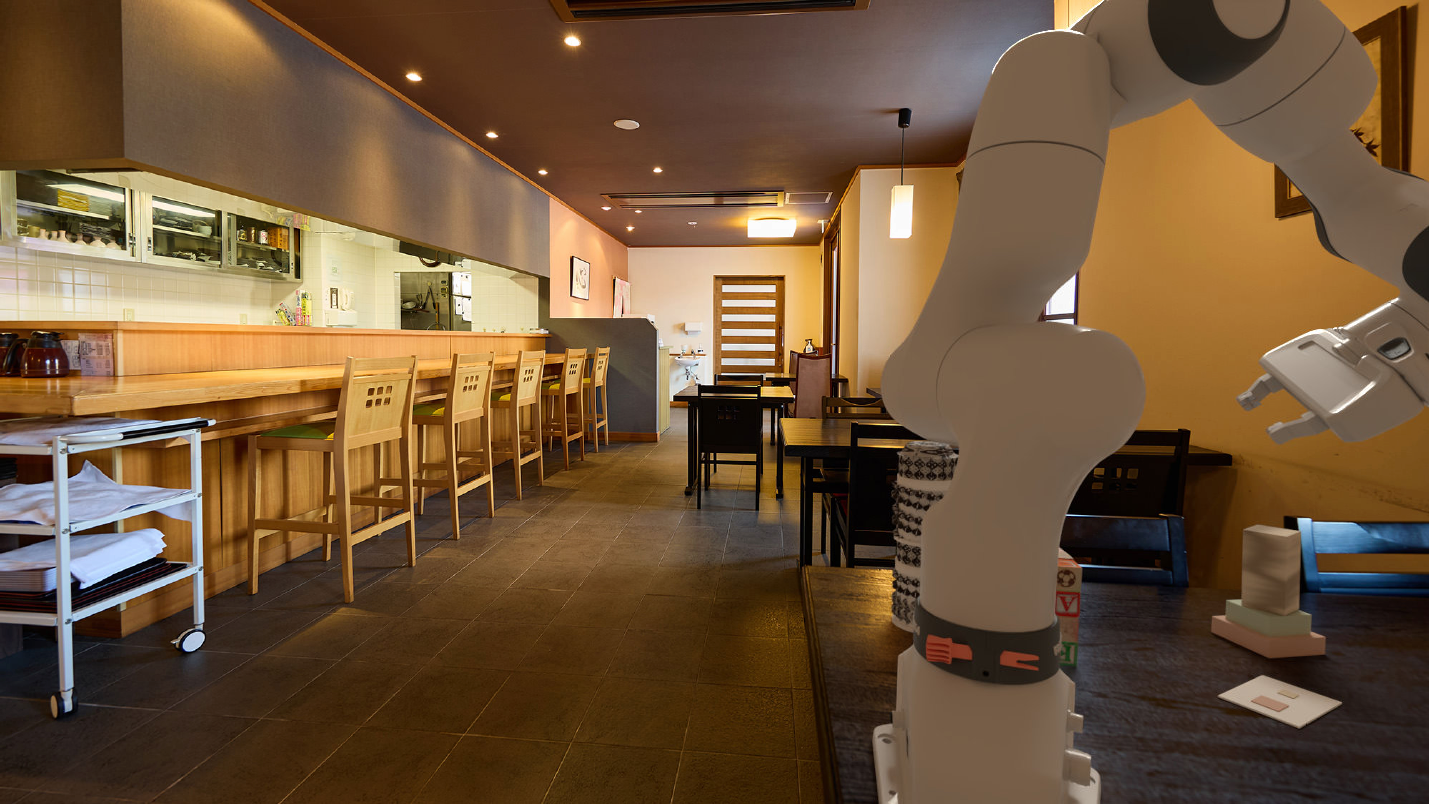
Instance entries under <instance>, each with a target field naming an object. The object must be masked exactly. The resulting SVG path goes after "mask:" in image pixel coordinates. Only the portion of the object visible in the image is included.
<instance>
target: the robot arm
mask: <svg viewBox="0 0 1429 804" xmlns="http://www.w3.org/2000/svg"><path fill="white" fill-rule="evenodd" d="M1378 82H1379V77H1378V74H1377V72H1376V69H1375V67H1374V64H1373V63H1372V60H1371V57H1370V56H1369V54H1368V53H1367V50H1366V49H1365V47H1364V45H1362V43H1361V42H1360V41H1359V40H1358V38H1357V37H1356V36H1355V34H1353V32H1352V31H1351V30H1350V29H1349V28H1348V26H1346V24H1344V23H1343V21H1342V20H1341V19H1340V18H1339V17H1338V16H1337V15H1336V14H1335V13H1334V12H1333V11H1332V10H1331V8H1329V7H1328V6H1326V5H1325V3H1323V2H1322V1H1321V0H1102V1H1100V2H1099V3H1097V4H1096V5H1095V6H1094V7H1091V9H1090V10H1089V11H1087V12H1086V13H1085V14H1084V15H1082V16H1081V17H1080V18H1079V19H1078V20H1076V22H1074V23H1073V24H1072V25H1070V26H1069V27H1068V28H1067V29H1054V30H1047V31H1041V32H1037V33H1034V34H1032V35H1029V36H1027V37H1025V38H1023V39H1020V40H1019V41H1017V42H1016V43H1014V44H1013V45H1011V46H1010V47H1009V48H1008V49H1007V50H1006V51H1005V52H1004V53H1003V54H1002V55H1001V56H1000V57H999V59H998V61H997V62H996V64H995V66H994V67H993V69H992V71H991V74H990V77H989V80H988V81H987V84H986V87H985V89H984V92H983V96H982V98H981V102H980V105H979V107H978V110H977V114H976V117H975V121H974V123H973V127H972V131H971V135H970V139H969V142H968V143H969V144H968V146H967V152H966V155H965V156H966V157H965V162H964V168H963V172H962V177H961V183H960V189H959V193H958V194H959V195H958V199H957V204H956V210H955V214H954V220H953V224H952V228H951V234H950V238H949V241H948V245H947V249H946V252H945V255H944V259H943V262H942V263H941V267H940V269H939V272H938V275H937V277H936V279H935V282H934V284H933V286H932V288H931V291H930V292H929V294H928V297H927V299H926V301H925V303H924V305H923V307H922V310H921V311H920V314H919V316H918V317H917V320H916V321H915V323H914V325H913V327H912V329H911V331H910V332H909V334H908V335H907V337H906V338H905V339H904V340H903V342H901V344H900V345H899V346H897V348H895V350H894V351H893V352H892V353H891V354H890V356H889V357H888V358H887V360H886V362H885V364H884V366H883V368H882V372H881V377H880V394H881V399H882V402H883V405H884V407H885V409H886V412H888V414H889V415H890V417H892V419H893V420H894V421H895V422H896V423H898V424H899V425H901V426H902V427H904V428H905V429H906V430H908V431H910V432H912V433H914V434H915V435H917V436H920V437H921V438H923V439H924V440H926V441H927V440H928V441H931V442H937V443H943V444H948V445H950V446H954V447H958V455H959V456H958V457H957V460H956V469H955V472H954V475H953V478H952V481H951V484H950V486H949V488H948V490H947V492H946V494H945V496H944V497H943V498H942V499H940V500H939V501H937V502H936V503H934V504H933V505H932V506H931V507H930V508H929V509H928V510H927V512H926V513H925V515H924V517H923V521H922V530H921V570H920V596H918V597H917V599H916V600H915V610H914V613H913V628H914V631H913V633H912V634H913V635H912V641H913V644H912V645H911V646H910V647H909V648H907V649H906V650H904V651H902V653H900V654H899V655H898V657H897V676H896V677H897V679H896V680H897V681H896V705H895V706H896V709H895V710H891V713H890V717H889V718H890V719H889V720H890V721H889V722H890V723H887V724H882V725H881V724H880V725H878V726H876V727H875V728H874V729H873V732H872V733H873V734H872V741H871V742H872V748H873V749H872V751H873V759H874V768H875V777H876V778H875V779H876V787H877V788H876V789H877V796H878V804H1101V794H1102V783H1101V780H1102V779H1101V776H1100V775H1101V774H1099V772H1098V771H1097V770H1096V769H1095V768H1093V767H1092V755H1091V754H1089V753H1088V752H1083V751H1082V750H1079V749H1078V748H1077V749H1076V748H1074V733H1075V732H1076V733H1078V734H1079V733H1080V734H1083V732H1084V721H1085V720H1084V715H1083V714H1079V713H1076V712H1075V705H1076V704H1075V702H1076V694H1075V693H1076V683H1075V682H1074V681H1072V679H1071V678H1070V677H1069V676H1068V675H1066V673H1064V671H1063V670H1062V669H1061V665H1060V650H1061V647H1062V636H1061V632H1060V620H1059V618H1058V616H1057V615H1056V614H1055V602H1056V584H1057V569H1058V556H1059V547H1060V542H1061V537H1062V536H1061V535H1062V531H1063V527H1064V523H1065V520H1066V517H1067V514H1068V511H1069V508H1070V506H1071V503H1072V501H1073V499H1074V497H1075V496H1076V493H1077V492H1078V490H1079V488H1080V486H1081V485H1082V483H1083V482H1084V480H1085V479H1086V477H1087V476H1088V474H1089V473H1090V472H1091V471H1092V470H1093V469H1094V468H1095V467H1096V466H1097V465H1098V464H1099V463H1100V462H1102V461H1103V460H1105V459H1106V458H1107V457H1109V456H1111V455H1112V454H1114V453H1116V452H1117V451H1118V450H1119V449H1121V448H1122V447H1123V446H1124V445H1125V444H1126V443H1128V441H1129V439H1130V438H1131V437H1132V435H1133V434H1134V432H1135V431H1136V429H1137V427H1138V425H1139V424H1140V422H1141V419H1142V417H1143V414H1144V413H1143V412H1144V409H1145V404H1146V397H1147V389H1146V380H1145V376H1144V375H1145V374H1144V371H1143V369H1142V366H1141V364H1140V361H1139V360H1138V357H1137V355H1136V354H1135V352H1134V351H1133V349H1132V348H1131V347H1130V346H1129V345H1128V343H1126V342H1125V341H1124V340H1123V339H1122V338H1120V337H1119V336H1117V335H1115V334H1113V333H1111V332H1110V331H1109V332H1108V331H1105V330H1103V329H1102V330H1101V329H1096V328H1093V327H1088V326H1082V325H1080V324H1074V323H1073V324H1072V323H1065V322H1059V321H1050V320H1049V321H1047V320H1045V321H1038V319H1039V317H1040V316H1041V314H1042V312H1043V311H1044V309H1045V307H1046V306H1047V304H1048V303H1049V302H1050V300H1051V299H1052V297H1053V296H1054V295H1055V294H1056V293H1057V292H1058V290H1060V289H1061V288H1062V287H1063V286H1064V285H1065V284H1066V283H1068V282H1069V281H1070V280H1071V279H1072V278H1073V277H1074V276H1075V275H1077V273H1078V272H1079V271H1080V270H1081V269H1082V267H1083V266H1084V264H1085V262H1086V260H1087V258H1088V256H1089V254H1090V250H1091V246H1092V245H1091V244H1092V239H1093V236H1094V235H1093V233H1094V228H1095V224H1096V218H1097V213H1098V207H1099V202H1100V195H1101V191H1102V185H1103V178H1104V174H1105V168H1106V162H1107V156H1108V149H1109V142H1110V140H1109V139H1110V132H1111V131H1110V130H1114V129H1117V128H1120V127H1124V126H1127V125H1129V124H1132V123H1134V122H1138V121H1141V120H1142V119H1145V118H1147V119H1148V118H1151V117H1155V116H1156V115H1159V114H1161V113H1163V112H1166V111H1167V110H1169V109H1172V108H1174V107H1176V106H1178V105H1181V104H1182V103H1184V102H1185V101H1188V100H1189V99H1190V100H1191V101H1192V102H1193V103H1194V105H1195V106H1196V107H1197V109H1199V111H1201V113H1202V114H1203V115H1204V116H1205V117H1206V118H1207V119H1208V120H1209V121H1210V122H1211V123H1212V124H1213V125H1214V127H1216V128H1217V129H1218V130H1219V131H1220V132H1221V133H1222V134H1224V135H1225V136H1226V137H1227V138H1228V139H1229V140H1231V141H1232V142H1233V143H1235V144H1236V145H1238V146H1239V147H1240V148H1242V149H1243V150H1244V151H1246V152H1248V153H1249V154H1251V155H1252V156H1255V157H1256V158H1258V159H1261V160H1262V161H1264V162H1267V163H1271V164H1274V165H1275V166H1276V168H1277V169H1278V170H1279V171H1280V172H1281V173H1282V174H1283V175H1284V176H1285V178H1287V179H1288V181H1289V182H1290V183H1291V184H1292V185H1293V186H1294V187H1295V188H1296V189H1297V190H1298V192H1299V193H1300V194H1301V195H1302V196H1303V197H1304V199H1305V200H1306V201H1307V202H1308V203H1309V207H1310V208H1311V211H1312V214H1313V215H1312V216H1313V220H1314V225H1315V232H1316V236H1317V239H1318V241H1319V242H1320V244H1321V246H1322V248H1324V250H1325V251H1327V252H1328V253H1329V254H1330V255H1332V256H1335V257H1337V258H1339V259H1341V260H1344V261H1346V262H1349V263H1351V264H1353V265H1355V266H1358V267H1359V268H1361V269H1363V270H1365V271H1367V272H1369V273H1371V274H1372V275H1374V276H1376V277H1378V278H1379V279H1381V280H1383V281H1385V282H1387V283H1388V284H1390V285H1392V286H1394V287H1395V288H1397V289H1398V290H1399V291H1400V292H1399V295H1398V296H1397V297H1396V298H1395V297H1394V298H1393V299H1390V300H1388V301H1386V302H1385V303H1383V304H1381V305H1380V306H1378V307H1375V308H1374V309H1372V310H1370V311H1369V312H1367V313H1364V314H1363V315H1362V316H1360V317H1358V318H1356V319H1354V320H1352V321H1351V322H1349V323H1347V324H1345V325H1343V326H1342V325H1341V326H1338V327H1334V328H1330V327H1329V328H1326V329H1322V328H1319V329H1315V330H1311V331H1308V332H1305V333H1303V334H1302V335H1299V336H1297V337H1295V338H1293V339H1290V340H1289V341H1286V342H1285V343H1283V344H1280V345H1279V346H1277V347H1275V348H1273V349H1271V350H1270V351H1267V352H1266V353H1265V354H1263V355H1262V356H1261V358H1259V360H1258V364H1259V366H1260V367H1261V368H1262V369H1263V371H1265V372H1266V373H1264V374H1263V375H1261V376H1260V377H1258V378H1257V379H1256V380H1255V381H1254V383H1252V384H1251V385H1250V387H1249V388H1248V390H1245V391H1244V392H1242V393H1240V394H1238V395H1237V396H1236V397H1235V401H1236V402H1237V403H1238V404H1239V405H1240V406H1241V408H1243V410H1245V411H1246V412H1251V411H1252V410H1254V409H1255V408H1258V407H1260V406H1261V405H1262V401H1263V400H1264V399H1265V398H1266V397H1267V396H1269V395H1270V394H1276V393H1278V392H1280V391H1281V390H1284V391H1285V392H1286V393H1288V394H1289V395H1290V396H1291V397H1292V398H1294V400H1296V401H1297V402H1298V403H1299V404H1300V405H1301V406H1303V407H1304V408H1305V409H1306V410H1307V411H1306V412H1304V413H1303V414H1301V415H1300V417H1301V418H1298V419H1295V420H1291V421H1288V422H1284V423H1283V422H1282V421H1277V422H1276V423H1273V425H1270V426H1268V427H1266V429H1265V433H1266V434H1267V435H1268V437H1269V438H1270V439H1271V441H1273V442H1274V443H1275V444H1276V445H1278V446H1280V445H1283V444H1285V443H1287V442H1289V441H1290V442H1291V441H1292V440H1293V439H1298V438H1304V437H1310V436H1311V437H1312V436H1317V435H1319V434H1321V433H1323V432H1326V431H1327V430H1330V431H1331V432H1332V433H1333V434H1334V435H1335V436H1337V437H1338V438H1339V439H1340V440H1341V441H1343V443H1357V442H1363V441H1367V440H1369V439H1372V438H1374V437H1376V436H1379V435H1381V434H1383V433H1385V432H1387V431H1390V430H1392V429H1394V428H1396V427H1398V426H1401V425H1402V424H1404V423H1407V422H1408V421H1410V420H1412V419H1413V418H1415V417H1417V416H1418V415H1420V413H1422V412H1423V410H1424V407H1427V408H1429V181H1428V180H1426V179H1425V178H1423V177H1419V176H1418V175H1415V174H1413V173H1410V172H1408V171H1404V170H1402V169H1396V168H1391V167H1388V166H1387V167H1386V166H1384V165H1381V164H1380V163H1379V162H1377V161H1376V159H1375V158H1374V157H1373V155H1371V153H1370V152H1369V151H1368V149H1366V147H1365V146H1364V145H1363V143H1362V142H1361V141H1360V140H1359V139H1358V138H1357V136H1356V135H1355V133H1353V131H1352V130H1351V129H1350V128H1351V127H1352V126H1353V125H1355V123H1357V121H1358V120H1359V119H1360V118H1361V117H1362V116H1363V114H1364V113H1365V112H1366V111H1367V108H1368V107H1369V105H1370V104H1371V102H1372V100H1373V98H1374V96H1375V93H1376V90H1377V86H1378V84H1379V83H1378Z"/></svg>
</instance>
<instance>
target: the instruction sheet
mask: <svg viewBox="0 0 1429 804" xmlns="http://www.w3.org/2000/svg"><path fill="white" fill-rule="evenodd" d="M1217 697H1218V698H1220V699H1222V700H1224V701H1227V702H1229V703H1232V704H1234V705H1237V706H1240V707H1241V708H1245V709H1248V710H1250V711H1252V712H1256V713H1258V714H1261V715H1262V716H1266V717H1269V718H1270V719H1273V720H1276V721H1278V722H1281V723H1283V724H1286V725H1288V726H1291V727H1294V728H1297V729H1299V730H1300V729H1301V728H1304V727H1305V726H1306V724H1307V725H1309V724H1310V723H1312V722H1313V721H1315V720H1317V719H1318V718H1320V717H1322V716H1324V715H1326V714H1327V713H1329V712H1331V711H1332V710H1334V709H1336V708H1339V706H1341V705H1342V704H1343V702H1342V701H1339V700H1337V699H1333V698H1330V697H1328V696H1325V695H1321V694H1319V693H1316V692H1314V691H1311V690H1307V689H1305V688H1302V687H1298V686H1296V685H1292V684H1290V683H1288V682H1284V681H1281V680H1279V679H1276V678H1272V677H1269V676H1267V675H1264V674H1263V675H1262V674H1261V675H1259V676H1257V677H1254V679H1251V680H1249V681H1247V682H1244V683H1241V684H1240V685H1237V686H1236V687H1233V688H1232V689H1229V690H1227V691H1225V692H1223V693H1220V694H1218V695H1217Z"/></svg>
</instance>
